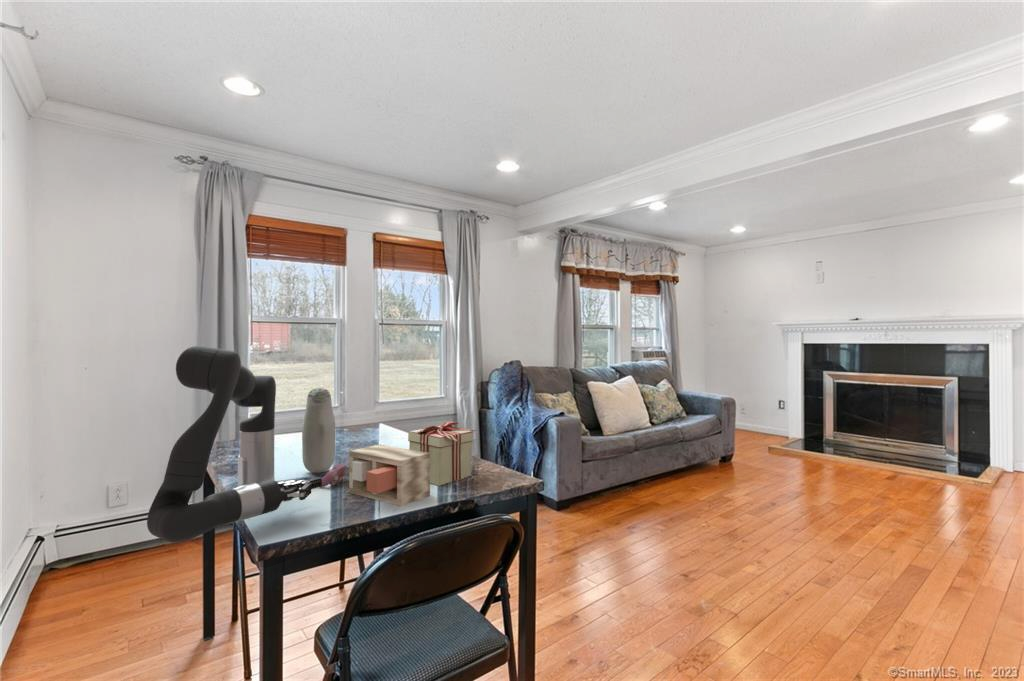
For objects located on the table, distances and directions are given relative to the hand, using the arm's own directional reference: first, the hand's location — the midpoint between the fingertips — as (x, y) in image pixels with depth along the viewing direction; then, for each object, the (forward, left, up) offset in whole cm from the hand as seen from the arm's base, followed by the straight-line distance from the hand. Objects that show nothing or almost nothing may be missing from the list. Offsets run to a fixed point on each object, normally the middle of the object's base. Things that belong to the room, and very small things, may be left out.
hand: (319, 481), depth 127 cm
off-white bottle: (+13, +36, -7) cm, 39 cm away
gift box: (+41, +3, -7) cm, 42 cm away
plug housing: (+19, -1, -7) cm, 20 cm away
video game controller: (+12, +20, -7) cm, 24 cm away
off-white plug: (+15, +4, -2) cm, 16 cm away
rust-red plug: (+14, -8, -2) cm, 16 cm away
